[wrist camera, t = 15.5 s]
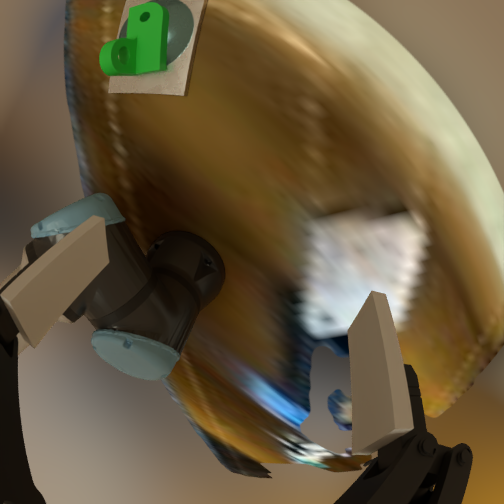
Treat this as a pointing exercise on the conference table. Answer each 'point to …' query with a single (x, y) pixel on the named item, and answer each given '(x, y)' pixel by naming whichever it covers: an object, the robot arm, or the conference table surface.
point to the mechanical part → (139, 43)
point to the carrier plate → (178, 50)
